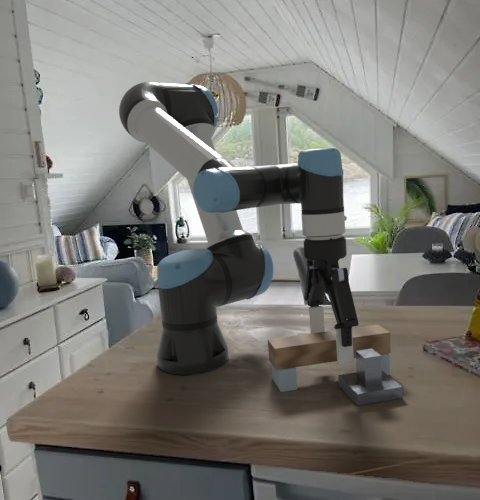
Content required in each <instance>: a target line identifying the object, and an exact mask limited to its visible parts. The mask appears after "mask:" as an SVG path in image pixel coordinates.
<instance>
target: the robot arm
mask: <svg viewBox="0 0 480 500" xmlns="http://www.w3.org/2000/svg"><path fill="white" fill-rule="evenodd" d="M118 110H119V111H118V114H119V115H118V116H119V120H120V122H121V125H122V127H123V128H124V129H125V131H126V132H127V133H128V134H129V135H130V136H131V137H132V138H133V139H134V140H135V141H138V142H140V143H146V144H147V145H148V146H149V147H150V148H151V149H152V150H153V151H155V152H156V153H157V154H158V155H159V156H161V158H163V160H164V161H166V162H167V163H168V164H169V165H170V166H171V167H172V168H174V169H175V170H176V171H177V172H178V173H180V175H182V177H184V178H185V179H186V180H187V183H188V186H189V189H190V192H191V195H192V198H193V202H194V204H195V207H196V211H197V213H198V216H199V218H200V219H199V220H200V222H201V225H202V229H203V231H204V234H205V237H206V240H207V243H206V246H204V248H192V249H185V250H181V251H178V252H174V253H173V254H169V255H167V256H165V257H164V258H161V260H160V261H159V263H158V264H157V269H156V275H157V280H156V284H157V287H158V296H159V297H158V298H159V305H160V306H159V307H160V314H161V326H162V331H161V336H160V341H159V345H158V349H157V353H156V354H157V355H156V359H157V367H158V368H159V370H161V371H162V372H165V373H167V374H171V375H172V374H173V375H178V376H179V375H181V376H183V375H185V376H187V375H196V374H203V373H207V372H211V371H214V370H217V369H219V368H220V367H222V366H224V365H225V364H226V363H227V362H228V361H229V348H228V345H227V341H226V340H225V338H224V335H223V333H222V331H221V328H220V326H219V324H218V323H219V322H218V313H217V312H218V310H217V308H219V307H223V306H225V305H229V304H233V303H237V302H240V301H244V300H250V299H253V298H255V297H257V296H260V295H262V294H264V293H265V292H267V291H268V289H269V288H270V286H271V284H272V279H273V278H274V263H273V262H274V261H273V258H272V255H271V254H270V252H269V250H268V249H267V248H265V246H264V245H261V244H258V243H256V242H255V239H254V238H253V237H254V236H253V234H252V233H251V232H248V231H246V230H245V229H243V226H242V222H241V220H240V217H239V214H238V211H239V210H246V209H247V210H248V209H254V208H262V207H263V208H264V207H269V206H270V207H271V206H276V205H288V204H289V205H290V204H300V206H301V214H300V215H301V227H302V228H301V229H302V235H303V236H304V237H306V238H304V240H303V256H304V259H306V262H307V265H306V266H307V270H306V271H307V272H306V280H305V286H304V288H305V289H304V295H303V296H304V297H303V298H304V300H305V301H306V303H307V306H308V312H309V327H310V328H309V330H310V334H312V333H319V332H326V331H325V314H324V306H323V305H325V301H324V295H325V294H326V295H327V296H328V299H329V303H330V306H331V309H332V311H333V315H334V317H335V322H336V324H335V325H334V326H333V328H334V330H336V347H337V361H336V362H337V364H338V365H345V364H353V363H355V358H354V354H353V334H352V328H355V327H359V319H358V314H357V312H356V311H357V310H356V307H355V302H354V298H353V293H352V289H351V286H350V282H349V272H348V268H347V267H340V264H339V261H340V260H341V259H344V258H346V256H347V255H348V254H347V238H346V237H345V236H344V235H345V233H346V221H347V215H345V205H344V170H343V162H342V155H341V154H342V153H341V151H340V150H339V149H338V148H336V147H323V148H312V149H311V148H310V149H304V150H300V151H299V152H298V156H297V158H298V159H297V162H294V163H282V164H266V165H255V166H254V165H253V166H235V165H234V164H232V163H231V161H228V160H227V159H226V158H224V157H223V156H222V155H221V154H219V153H218V152H217V150H216V148H215V145H214V142H213V140H212V138H213V136H214V135H215V133H216V129H215V128H216V127H217V124H218V121H219V116H218V115H217V114H218V113H219V109H218V103H217V101H216V99H215V97H214V95H213V93H212V92H211V91H210V90H209V89H208V88H207V87H204V86H203V85H198V84H194V83H189V82H187V83H170V82H169V83H168V82H154V81H144V82H140V83H137V84H135V85H133V86H132V87H130V88H129V89H128V90H126V92H125V93H124V94H123V96H122V99H121V101H120V103H119V108H118Z"/></svg>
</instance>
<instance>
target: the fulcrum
mask: <svg viewBox="0 0 480 500" xmlns="http://www.w3.org/2000/svg"><path fill="white" fill-rule="evenodd" d="M355 362H356V363H355V367H356V368H355V369H356V371H355V372H349V373H344V374H338V387H339V388H340V389H341V390H342V391H344V393H345V394H346V395H347V396H348V397H349V398H350V399H351V400H352V401H353V402H354V403H355V405H356V406H358V407H359V406H363V405H369V404H370V405H371V404H376V403H382V402H387V401H394V400H400V399H403V397H404V395H403V394H404V393H403V386H402V385H401V384H400V383H398V381H396V380H394V379H393V378H392V377H391V376H390V375H387V374H386V373H385V372H383V371H382V363H381V355H380V354H378V353H377V352H376V351H374V350H373V349H365V350H359V351H356V358H355Z"/></svg>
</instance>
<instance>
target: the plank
mask: <svg viewBox="0 0 480 500" xmlns="http://www.w3.org/2000/svg"><path fill="white" fill-rule="evenodd" d="M352 334H353V354H354V359H356V351H359V350H365V349H373V350H374V351H376V352H377V353H378V354H387V353H388V354H391V353H392V352H391V332H390V331H389V330H387V329H386V328H384V327H383V326H381V325H379V324H373V325H372V324H370V325H364V326H354V327H352ZM267 347H268V348H267V349H268V360H269V362H270V363H272V365H273V366H274V368H275V369H276V370H281V369H288V368H294V367H295V368H299V367H307V366H314V365H320V364H327V363H333V362H337V347H336V329H334V330H328V331H327V330H326V331H325V332H319V333H312V334H311V333H306V334H300V335H298V334H297V335H293V336H292V335H291V336H285V337H275V338H270V339H267Z"/></svg>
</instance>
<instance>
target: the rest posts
mask: <svg viewBox="0 0 480 500" xmlns="http://www.w3.org/2000/svg"><path fill="white" fill-rule="evenodd" d="M380 355H381V363H382V371H383V372H385V373H386V374H387V375H388V376H390V374H391V369H390V366H391V365H390V364H391V363H390V361H391V360H390V353H387V354H380ZM270 363H271V362H270ZM270 366H271V379H272V381H273V382H274V384H275V385H276V387H277V388H278V390H279V391H280V393H285V392H290V391H296V390H297V391H298V380H297V367H294V368H288V369H281V370H276V369H275V368H274V366H273V365H272V363H271V365H270Z"/></svg>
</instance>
